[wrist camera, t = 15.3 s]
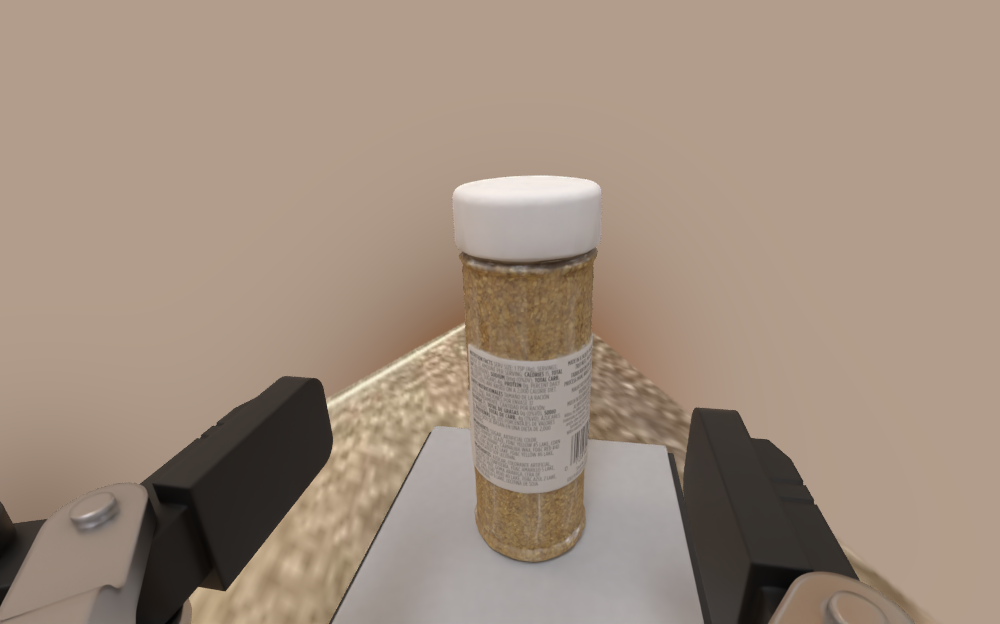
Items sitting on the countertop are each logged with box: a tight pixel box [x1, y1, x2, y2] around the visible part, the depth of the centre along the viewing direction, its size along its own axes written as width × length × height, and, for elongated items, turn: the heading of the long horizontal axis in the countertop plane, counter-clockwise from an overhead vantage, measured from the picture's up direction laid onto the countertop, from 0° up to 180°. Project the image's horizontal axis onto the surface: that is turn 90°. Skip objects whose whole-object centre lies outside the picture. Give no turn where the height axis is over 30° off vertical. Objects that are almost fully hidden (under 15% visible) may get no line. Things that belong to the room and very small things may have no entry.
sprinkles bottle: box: [452, 176, 602, 562], centre depth 17 cm, size 5×5×14 cm
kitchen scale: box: [329, 426, 712, 624], centre depth 20 cm, size 13×13×3 cm
